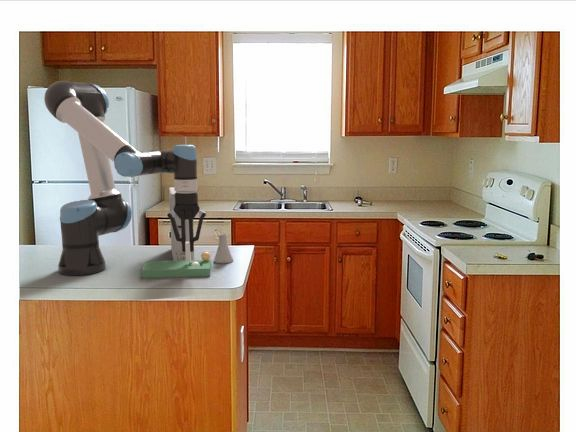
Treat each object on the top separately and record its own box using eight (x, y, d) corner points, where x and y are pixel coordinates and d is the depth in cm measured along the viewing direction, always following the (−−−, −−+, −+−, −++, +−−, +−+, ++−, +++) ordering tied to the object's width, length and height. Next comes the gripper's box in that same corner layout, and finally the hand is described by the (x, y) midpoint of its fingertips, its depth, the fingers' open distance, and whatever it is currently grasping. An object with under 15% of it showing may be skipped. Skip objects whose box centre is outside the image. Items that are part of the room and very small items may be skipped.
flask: (209, 262, 191) (209, 235, 189) (219, 258, 197) (218, 232, 196) (228, 264, 188) (227, 237, 187) (236, 259, 195) (236, 233, 193)
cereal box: (194, 260, 194) (192, 193, 190) (173, 262, 192) (170, 193, 188) (190, 248, 214) (188, 186, 210) (171, 249, 213) (169, 187, 208)
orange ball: (201, 262, 182) (200, 253, 181) (201, 259, 185) (201, 250, 184) (210, 261, 182) (210, 252, 182) (210, 259, 185) (210, 250, 185)
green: (141, 277, 172) (141, 270, 171) (147, 268, 183) (147, 261, 183) (209, 275, 174) (209, 268, 173) (211, 266, 186) (211, 259, 185)
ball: (189, 271, 177) (191, 262, 177) (190, 269, 180) (191, 260, 180) (198, 273, 178) (200, 263, 177) (199, 270, 181) (201, 261, 180)
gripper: (164, 193, 170) (167, 264, 174) (205, 192, 171) (207, 263, 175) (167, 190, 178) (170, 258, 181) (206, 190, 179) (208, 257, 183)
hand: (188, 261), depth 178 cm, fingers closed
